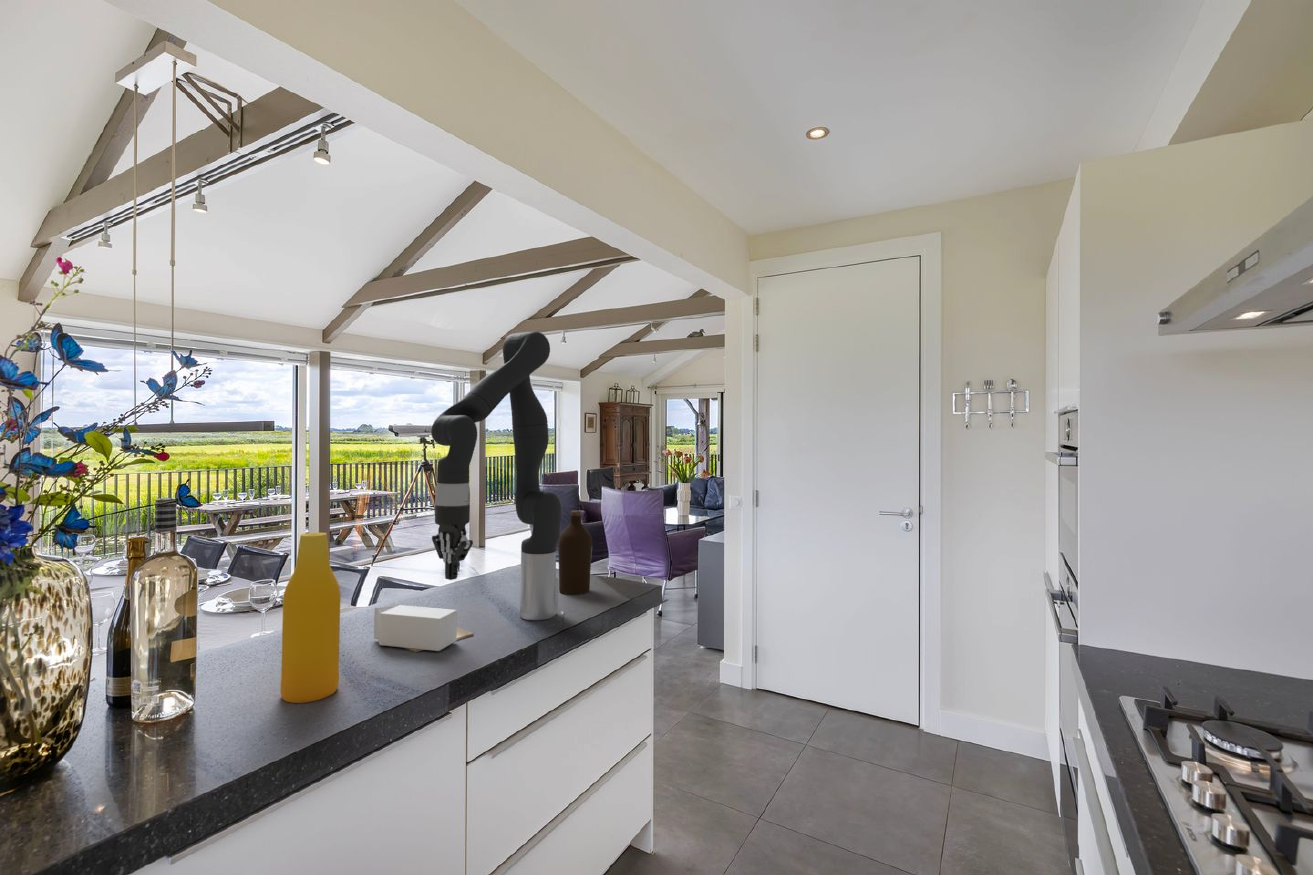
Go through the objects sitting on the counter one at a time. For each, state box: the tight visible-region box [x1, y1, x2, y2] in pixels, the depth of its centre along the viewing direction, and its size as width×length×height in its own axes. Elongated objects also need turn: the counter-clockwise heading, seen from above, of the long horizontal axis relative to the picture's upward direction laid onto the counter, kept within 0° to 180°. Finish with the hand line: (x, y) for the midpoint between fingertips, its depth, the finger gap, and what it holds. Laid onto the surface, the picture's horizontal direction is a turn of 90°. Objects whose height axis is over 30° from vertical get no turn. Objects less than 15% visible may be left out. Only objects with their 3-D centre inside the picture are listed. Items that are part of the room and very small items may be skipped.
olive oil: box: [557, 510, 593, 596], centre depth 185 cm, size 11×11×25 cm
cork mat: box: [405, 627, 475, 653], centre depth 140 cm, size 15×13×1 cm
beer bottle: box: [279, 532, 342, 704], centre depth 109 cm, size 9×9×29 cm
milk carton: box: [373, 604, 458, 652], centre depth 135 cm, size 7×7×19 cm
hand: (451, 578), depth 135 cm, fingers closed
